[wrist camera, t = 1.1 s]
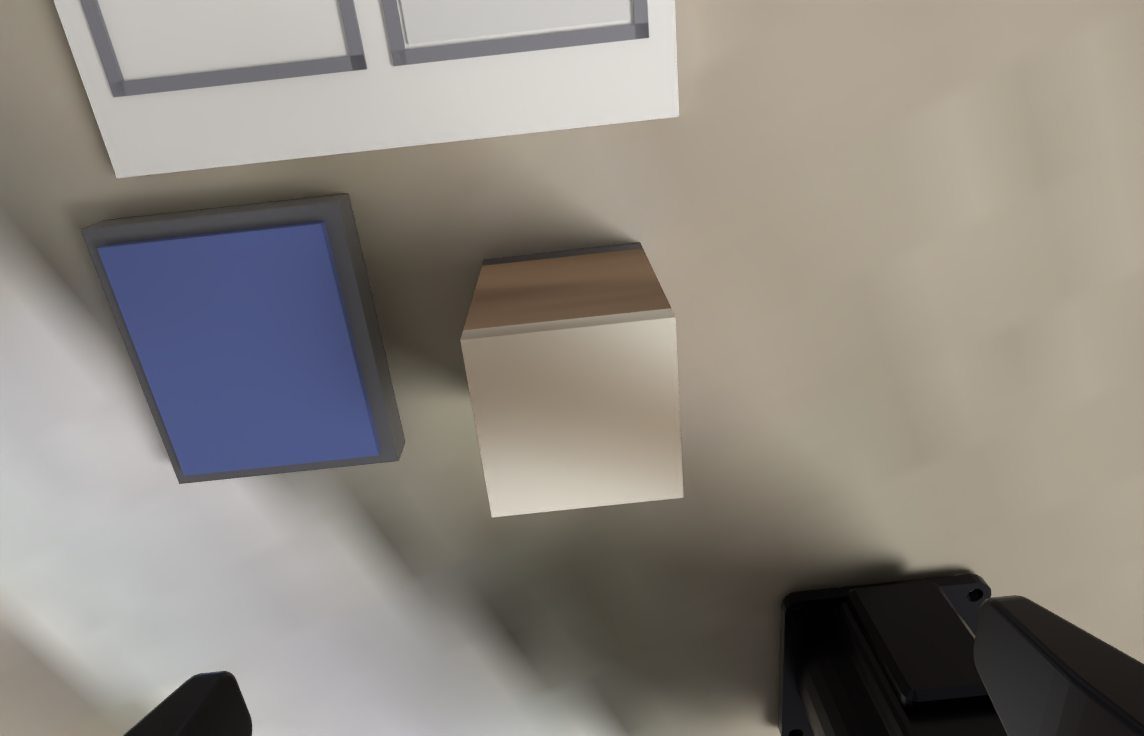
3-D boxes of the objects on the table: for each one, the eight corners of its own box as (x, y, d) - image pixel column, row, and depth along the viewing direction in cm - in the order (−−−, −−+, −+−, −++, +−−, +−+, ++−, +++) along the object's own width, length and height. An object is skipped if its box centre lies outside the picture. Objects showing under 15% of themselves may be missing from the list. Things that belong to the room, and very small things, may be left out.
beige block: (648, 383, 20) (683, 497, 15) (505, 398, 20) (492, 517, 15) (640, 242, 18) (675, 317, 13) (483, 259, 18) (460, 340, 13)
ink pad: (404, 442, 20) (396, 466, 19) (195, 464, 20) (173, 490, 19) (348, 193, 17) (334, 204, 16) (104, 220, 17) (73, 233, 16)
